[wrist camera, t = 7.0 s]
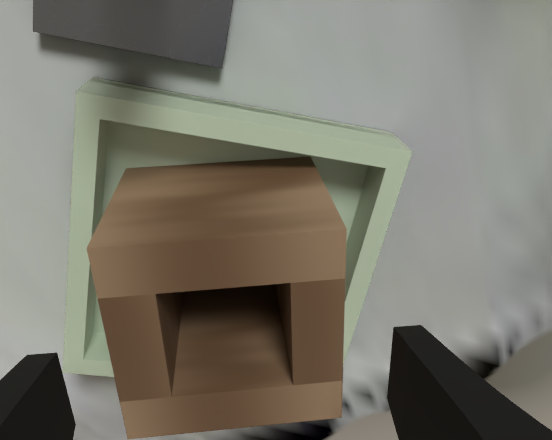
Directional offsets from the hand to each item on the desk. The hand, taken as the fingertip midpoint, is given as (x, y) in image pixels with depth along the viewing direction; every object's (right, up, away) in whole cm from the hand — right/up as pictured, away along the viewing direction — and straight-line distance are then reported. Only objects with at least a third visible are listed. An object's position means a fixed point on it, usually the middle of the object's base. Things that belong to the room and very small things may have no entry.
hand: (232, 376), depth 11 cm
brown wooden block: (-1, +3, +5) cm, 6 cm away
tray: (-1, +3, +6) cm, 7 cm away
